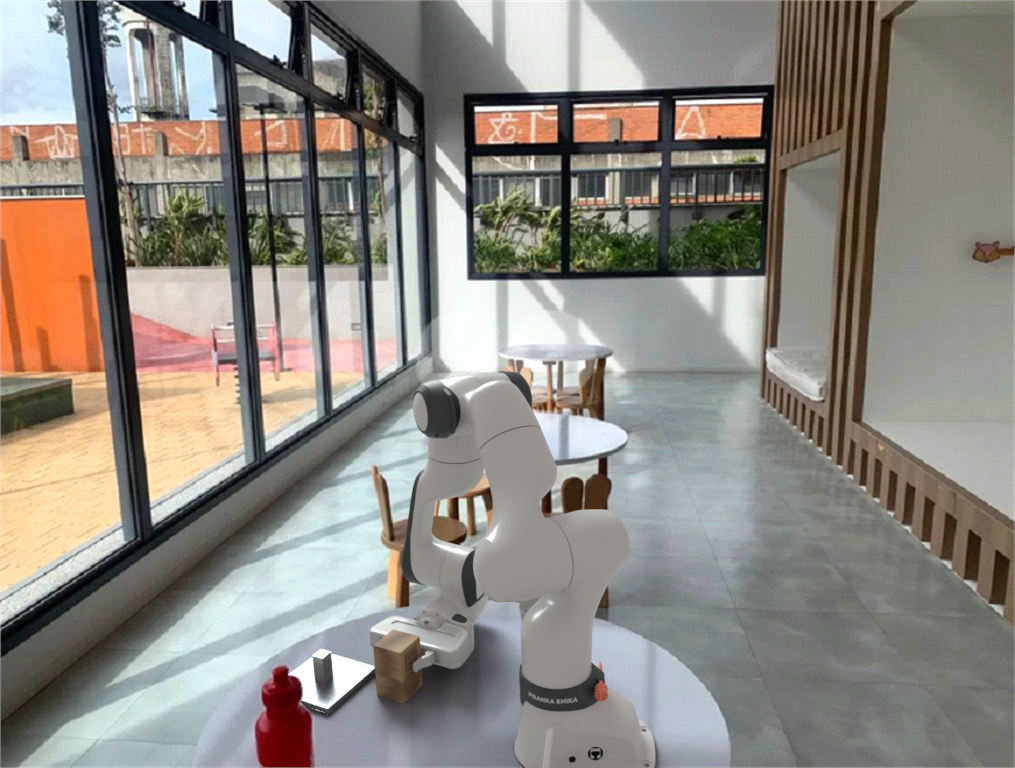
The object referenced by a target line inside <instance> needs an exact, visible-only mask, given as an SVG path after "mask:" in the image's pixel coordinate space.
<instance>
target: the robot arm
mask: <svg viewBox="0 0 1015 768" xmlns="http://www.w3.org/2000/svg"><path fill="white" fill-rule="evenodd" d="M412 412H413V413H412V414H413V418H414V420H415V423H416V426H417V428H418V430H419V432H421V433H422V434H423V435H424V436H426V437H428V438H427V462H426V466H425V468H423V469H421V470H420V471H419V472H418V474H417V475H416V477H415V479H414V481H413V486H412V491H411V496H410V501H409V503H410V504H409V510H408V519H407V525H406V526H407V527H406V534H405V540H404V544H403V547H402V551H401V553H400V559H399V565H400V566H399V567H400V569H401V572H402V574H403V576H404V578H405V579H406V581H407V582H408V583H411V584H416V585H420V586H421V585H422V586H428V587H431V588H434V589H437V590H440V594H439V596H438V597H437V598H435V599H433V600H432V601H430V602H429V603H428V604H427V605H426V606H424V607H423V608H422V609H421V610H420V611H418V612H417V613H416V615H415V617H414V618H409V617H405V616H402V615H390V616H388V617H385V619H382V620H381V621H379V622H378V623H376V624H375V625H373V626H372V627H370V629H369V633H368V635H369V643H370V646H371V647H372V648H373V645H374V644H376V643H377V642H378V641H379V640H381V639H382V638H383V637H384V636H385V635H387V634H388V633H389V632H390V631H392V630H393V629H394V630H397V631H401V632H405V633H409V634H413V635H417V636H420V650H421V657H420V658H413V659H412V660H411V661H410V662H409V670H410V671H414V672H418V671H419V670H420V669H421V668H422V669H424V668H427V667H430V666H432V665H436V666H440V667H444V668H447V669H450V670H454V669H459V668H460V667H462V666H463V664H464V663H465V662H466V661H467V660H468V659H469V657H470V654H472V653H473V651H474V649H475V631H474V622H475V621H476V620H477V619H478V618H479V617H480V616H481V614H482V613H483V611H484V610H485V608H486V607H487V605H488V602H489V599H490V600H492V601H493V602H495V603H514V602H520V601H527V600H530V599H534V598H537V597H540V596H541V597H540V598H539V600H538V601H537V602H536V603H535V604H534V605H533V606H532V607H531V608H530V609H529V610H528V611H527V613H526V614H525V616H524V618H523V621H522V620H521V625H520V633H519V634H520V657H521V658H520V659H521V663H520V665H519V671H518V696H519V699H520V700H519V701H520V704H521V710H520V719H519V723H518V730H517V734H516V737H515V740H514V753H515V756H516V758H517V760H518V761H519V763H520V764H521V765H522V766H523V767H524V768H656V763H657V756H656V755H657V754H656V753H657V751H656V745H655V740H654V737H653V733H652V731H651V729H650V728H649V726H648V725H647V724H646V722H644V721H643V720H642V719H640V718H639V716H638V714H637V711H636V708H635V706H634V705H633V703H632V702H631V700H630V699H628V698H627V697H625V696H624V695H622V694H620V692H617V691H616V690H614V689H613V688H611V687H610V686H608V685H606V677H605V672H604V671H603V668H604V667H603V664H602V662H601V661H599V663H598V664H599V665H598V666H599V667H598V666H597V665H595V664H594V663H593V662H592V647H593V646H592V643H593V641H592V640H593V626H594V622H595V618H596V617H595V616H596V614H597V611H598V607H599V606H600V602H601V600H602V598H603V595H604V593H605V592H606V589H607V587H608V586H609V584H610V583H611V581H612V580H613V578H614V576H616V574H617V572H618V571H620V569H622V567H623V566H624V565H626V563H627V562H628V561H627V560H628V559H629V555H630V549H631V541H630V536H629V533H628V529H627V527H626V524H624V522H623V521H622V519H621V518H620V516H618V515H617V514H615V513H614V512H613V511H611V510H610V509H609V510H608V509H598V508H597V509H579V510H574V511H569V512H566V513H562V514H561V513H560V514H558V515H553V516H550V517H545V516H544V513H543V511H542V507H541V500H542V499H543V498H544V497H545V496H546V495H547V494H549V492H550V491H551V490H552V489H553V487H554V485H555V484H556V481H557V477H558V466H557V464H556V462H555V459H554V457H553V455H552V452H551V449H550V446H549V445H548V442H547V440H546V438H545V435H544V432H543V429H542V426H541V425H540V423H539V420H538V419H537V416H536V414H535V412H534V411H533V393H532V389H531V387H530V385H529V383H528V381H527V380H526V378H525V377H524V376H523V375H522V374H521V373H519V372H515V371H511V370H500V371H498V372H479V373H477V372H476V373H464V374H463V373H462V374H457V375H452V376H449V377H444V378H442V379H441V378H440V379H439V378H434V379H432V380H429V381H426V382H423V383H421V384H419V386H418V387H417V389H416V390H415V391H414V393H413V398H412ZM484 471H485V475H486V478H487V482H488V485H489V489H490V492H491V498H492V512H491V518H490V522H489V525H488V527H487V530H486V532H485V533H484V535H483V536H482V538H481V539H480V541H479V542H478V544H477V546H476V549H474V548H471V547H468V546H465V545H461V544H456V543H453V542H449V541H444V540H441V539H439V538H437V537H436V536H435V535H434V534H433V532H432V529H433V526H434V525H433V523H434V517H435V511H436V509H435V508H436V503H437V502H439V501H444V500H449V499H454V498H458V497H461V496H464V495H466V494H468V493H469V492H471V491H473V490H474V489H475V488H476V487H477V486H478V485H479V484H480V482H481V481H482V479H483V475H484Z"/></svg>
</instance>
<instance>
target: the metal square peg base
mask: <svg viewBox="0 0 1015 768" xmlns="http://www.w3.org/2000/svg"><path fill="white" fill-rule="evenodd" d="M289 674H290V675H293V676H296V677H298V678H299V679H300V681H301V683H302V687H303V697H302V700H301V703H302V704H303V705H304V706H306V707H307V708H306V707H305V708H306V709H309V708H313V709H318V710H320V711H323V712H325V713H326V714H329V713H330V714H331V713H332V712H334V711H335V710H336V709H337V708H338V707H339V706H341V705H342V704H343V703H344V702H345V701H346V700H347V699H348V698H350V697H351V696H353V694H354V693H355V692H357V690H359V689H360V688H361V687H362V686H364V684H366V683H367V682H368V681H369V680H371V678H372V677H374V676H376V674H375V665H372V664H368V663H365V662H362V661H360V660H355V659H352V658H347V657H346V656H345V657H344V656H342V655H339V654H336V653H335V654H334V653H332V651H329V650H326V649H322V648H320V649H319V650H318V651H316V652H315V653H314V654H312V656H311V657H310V658H308V659H307V660H306V661H304V662H303V663H302V664H300V666H297V668H295V669H293V671H291V672H290V673H289ZM337 706H338V707H337ZM308 707H309V708H308ZM336 707H337V708H336ZM335 708H336V709H335ZM334 709H335V710H334ZM333 710H334V711H333ZM331 711H332V712H331ZM326 714H325V715H326ZM330 714H329V715H330Z"/></svg>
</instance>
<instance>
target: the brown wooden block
mask: <svg viewBox="0 0 1015 768" xmlns="http://www.w3.org/2000/svg"><path fill="white" fill-rule="evenodd" d="M372 648H373V658H374V660H373V662H374V666H375V685H376V695H377V696H378V697H382V698H385V699H388V700H391V701H395V702H398V703H401V704H405V703H406V702H407V701H408V700H409V699H410V698H411V697H413V696H414V694H416V693H417V692H418V691H419V689H420V688H422V687H423V685H424V683H423V682H424V681H423V668H421V669H420V670H419V671H418V672H414V671H410V670H409V662H410V661H411V660H412V659H413V658H420V657H421V650H420V636H417V635H413V634H409V633H405V632H401V631H397V630H394V629H393V630H392V631H390V632H389V633H388V634H387V635H385V636H384V637H383V638H382V639H381V640H379V641H378V642H377V643H376V644H374V645H373V647H372Z"/></svg>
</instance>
